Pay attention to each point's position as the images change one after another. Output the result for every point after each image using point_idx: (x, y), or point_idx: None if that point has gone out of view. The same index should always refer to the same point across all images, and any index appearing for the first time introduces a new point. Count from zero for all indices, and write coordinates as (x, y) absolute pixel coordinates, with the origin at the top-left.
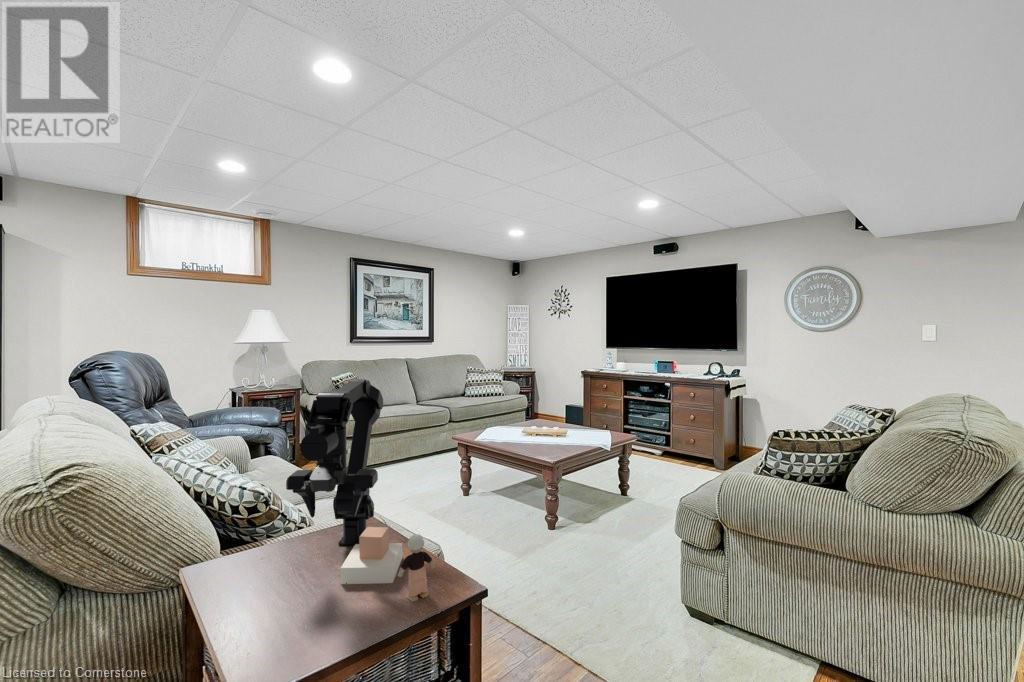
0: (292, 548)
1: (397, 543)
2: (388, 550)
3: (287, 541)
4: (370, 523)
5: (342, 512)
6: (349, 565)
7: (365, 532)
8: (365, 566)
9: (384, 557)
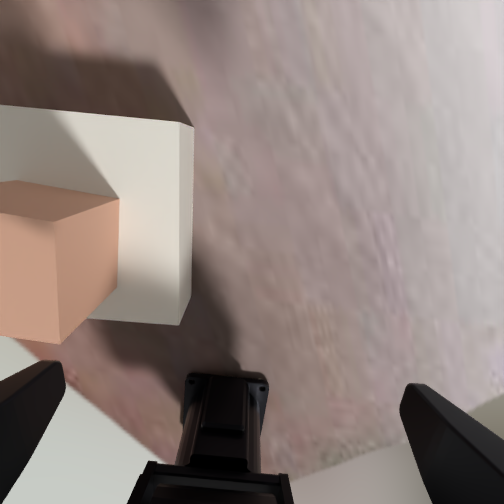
0: (405, 379)
1: None
2: None
3: None
4: None
5: (249, 497)
6: (145, 142)
7: (40, 277)
8: (67, 121)
9: None
